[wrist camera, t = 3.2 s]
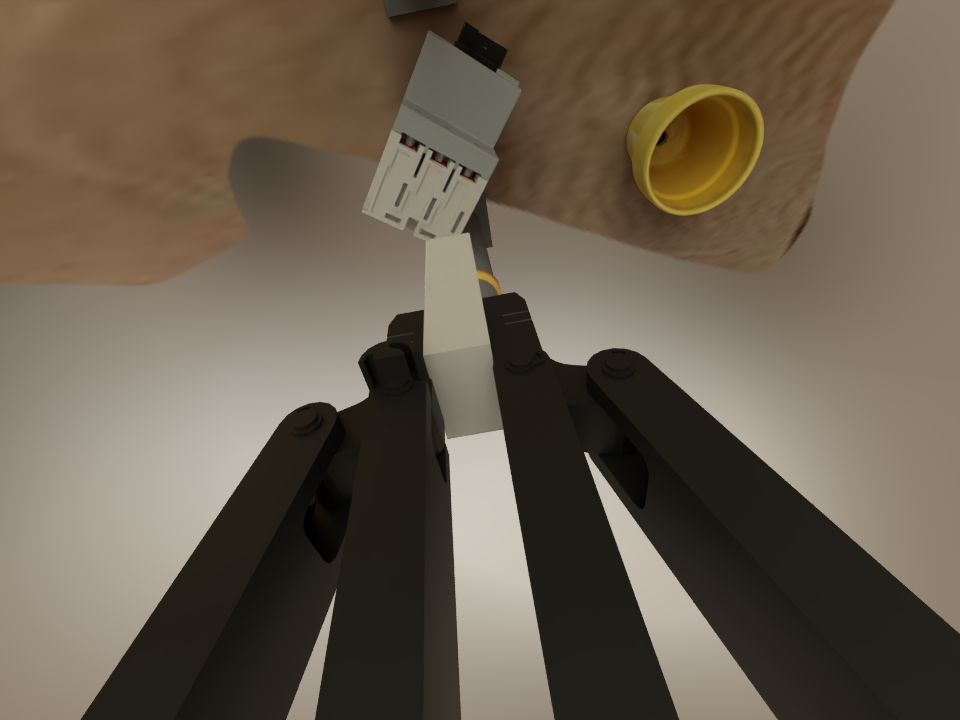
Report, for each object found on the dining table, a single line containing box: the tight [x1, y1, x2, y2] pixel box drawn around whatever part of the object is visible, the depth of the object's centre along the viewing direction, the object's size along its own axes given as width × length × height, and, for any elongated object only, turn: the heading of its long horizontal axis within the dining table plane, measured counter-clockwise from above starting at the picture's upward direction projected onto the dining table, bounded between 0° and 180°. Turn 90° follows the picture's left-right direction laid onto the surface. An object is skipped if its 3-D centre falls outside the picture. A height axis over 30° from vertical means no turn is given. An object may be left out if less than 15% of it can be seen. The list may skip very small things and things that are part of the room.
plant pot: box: [626, 84, 764, 216], centre depth 42 cm, size 10×10×10 cm
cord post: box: [461, 191, 502, 298], centre depth 40 cm, size 6×6×24 cm
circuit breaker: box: [362, 22, 522, 241], centre depth 37 cm, size 8×14×15 cm, turn 152°
